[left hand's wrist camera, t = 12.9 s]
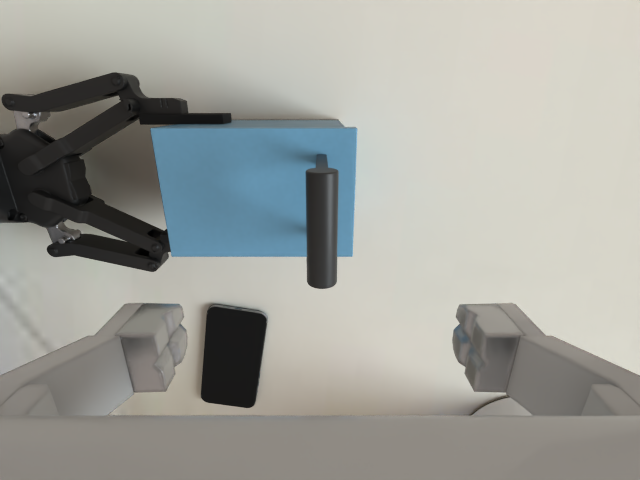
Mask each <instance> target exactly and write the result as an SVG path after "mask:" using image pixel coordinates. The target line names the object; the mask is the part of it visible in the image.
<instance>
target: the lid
mask: <svg viewBox="0 0 640 480" xmlns="http://www.w3.org/2000/svg"><path fill="white" fill-rule="evenodd" d="M150 130H151V136H152V142H153V148H154V154H155V160H156V166H157V172H158V178H159V184H160V190H161V196H162V201H163V207H164V213H165V219H166V225H167V231H168V237H169V243H170V249H171V255H172V257H307V282H308V284H309V285H310V286H311V287H314V288H319V289H325V288H330V287H332V286H334V285H335V284H336V282H337V257H352V256H353V230H354V203H355V175H356V148H357V128H356V127H156V128H150Z"/></svg>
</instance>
